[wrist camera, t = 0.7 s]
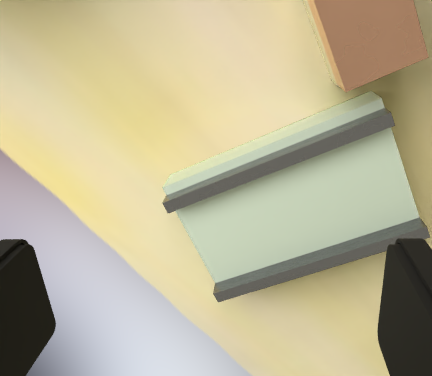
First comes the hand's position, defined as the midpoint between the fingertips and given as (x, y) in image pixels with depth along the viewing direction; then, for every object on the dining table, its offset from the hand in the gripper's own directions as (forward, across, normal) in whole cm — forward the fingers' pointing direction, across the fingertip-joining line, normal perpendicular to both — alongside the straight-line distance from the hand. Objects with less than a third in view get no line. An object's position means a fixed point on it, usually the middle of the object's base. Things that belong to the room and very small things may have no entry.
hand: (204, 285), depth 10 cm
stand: (+24, -4, +8) cm, 26 cm away
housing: (+24, -8, -6) cm, 26 cm away
